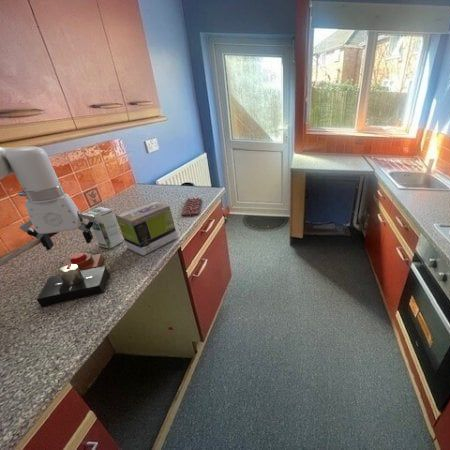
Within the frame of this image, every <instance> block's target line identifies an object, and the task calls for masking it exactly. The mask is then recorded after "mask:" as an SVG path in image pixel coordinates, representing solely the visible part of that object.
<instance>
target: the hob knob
mask: <svg viewBox="0 0 450 450" xmlns="http://www.w3.org/2000/svg"><path fill="white" fill-rule="evenodd" d="M61 267H62V266H61ZM61 267H60V268H59V269H58V271H57V274H58V273H59V275H60V277H61V279H62V281H63V283H64V284H65V285H66V286H72V285H75V284H78V283H80V282H81V281H82V280H83V276H82V274H81V271H80V269H79V267H78V265H76V264H69V265H67V266H64V267H62V268H61Z"/></svg>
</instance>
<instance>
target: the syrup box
mask: <svg viewBox="0 0 450 450" xmlns="http://www.w3.org/2000/svg"><path fill="white" fill-rule="evenodd" d="M85 213H87V214H92V215H95V216H96V218H95V221H94V224H93V226H92V227H91V229H92V232H93V234H94V236H95V239H96V241H97V244H98V247H102V248H106V249H109V250H111V249H112V248H114V247H116V246H118V245H119V244H121V243H123V242H124V241H123V238H122V234H121V231H120V228H119V225H118V222H117V219H116V216H115V214H114V211H113V209H112V208H108V207H102V206H99V207H96V208H93V209H90V210H88V211H86V212H85Z"/></svg>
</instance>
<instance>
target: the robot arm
mask: <svg viewBox="0 0 450 450" xmlns="http://www.w3.org/2000/svg"><path fill="white" fill-rule="evenodd" d="M12 175H14V176H15V178H16V179H17V181H18V183H19V185H20V187H21V188H22V190H20V191H18V192H17V195H18V196H19V197H25V198H26V200H25V201H24V203H25V209H26V211H27V215H28V218H29V220H28V221H26V222H24V223H23V224H22V223H21V225H20V226H19V230H21V231H22V232H25V233H26V234H27V235H28V236H31V237H34V238H36V240H39V241H40V243H41V245H42V246H43V248H45V249H46V251H50V250H52V249H53V247H54V242H53V240H52V237H50V235H49V234H54V233H61V232H67V231H73V230H74V231H75V230H77V229H78V230H81V231H82V236H83V238H84V240H85V242H86V244H91V242H92V240H93V239H94V235H93V233H92V231H91V229H92V226H93V224H94V221H95V218H96V216H95V215H92V214H87V213H86V212H81V211H80V210H79V208H78V206H77V205H76V203H75V202H74V200H73V199H72V198H71V196H70V195H69V194H68V193H65V191H64V189H63V187H62V184H61V182H60V180H59V177H58V176H57V173H56V171H55V169H54V166H53V164H52V162H51V160H50V157H49V156H48V153H47V151H46V149H43V147H40V146H34V145H33V146H32V145H31V146H30V145H28V146H18V147H17V146H16V147H6V146H5V147H3V146H0V181H1V180H3V179H4V178H6V177H9V176H12ZM84 219H86V220H88V222H87V223H86V222H85V221H84ZM31 226H32V227H33V228H32V227H31Z"/></svg>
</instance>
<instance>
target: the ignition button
mask: <svg viewBox="0 0 450 450" xmlns="http://www.w3.org/2000/svg"><path fill="white" fill-rule="evenodd" d="M84 253H85V252H81V251H79V252H75V253H73V254H71V255H70V257H69V258H70V259H71V261H72V262H73V263H76V262H80V261H83V260H84V259H86V257H85V254H84Z"/></svg>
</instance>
